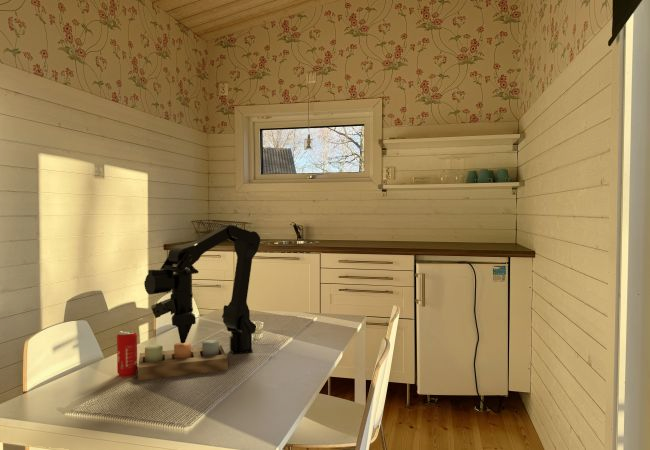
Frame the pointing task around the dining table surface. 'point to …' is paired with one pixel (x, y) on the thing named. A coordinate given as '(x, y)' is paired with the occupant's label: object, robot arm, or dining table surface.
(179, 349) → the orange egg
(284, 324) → the dining table surface
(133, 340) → the beverage can
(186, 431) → the dining table surface
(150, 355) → the button sage
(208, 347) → the sage green rounded cylinder
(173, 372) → the wooden compartment tray
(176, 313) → the robot arm
